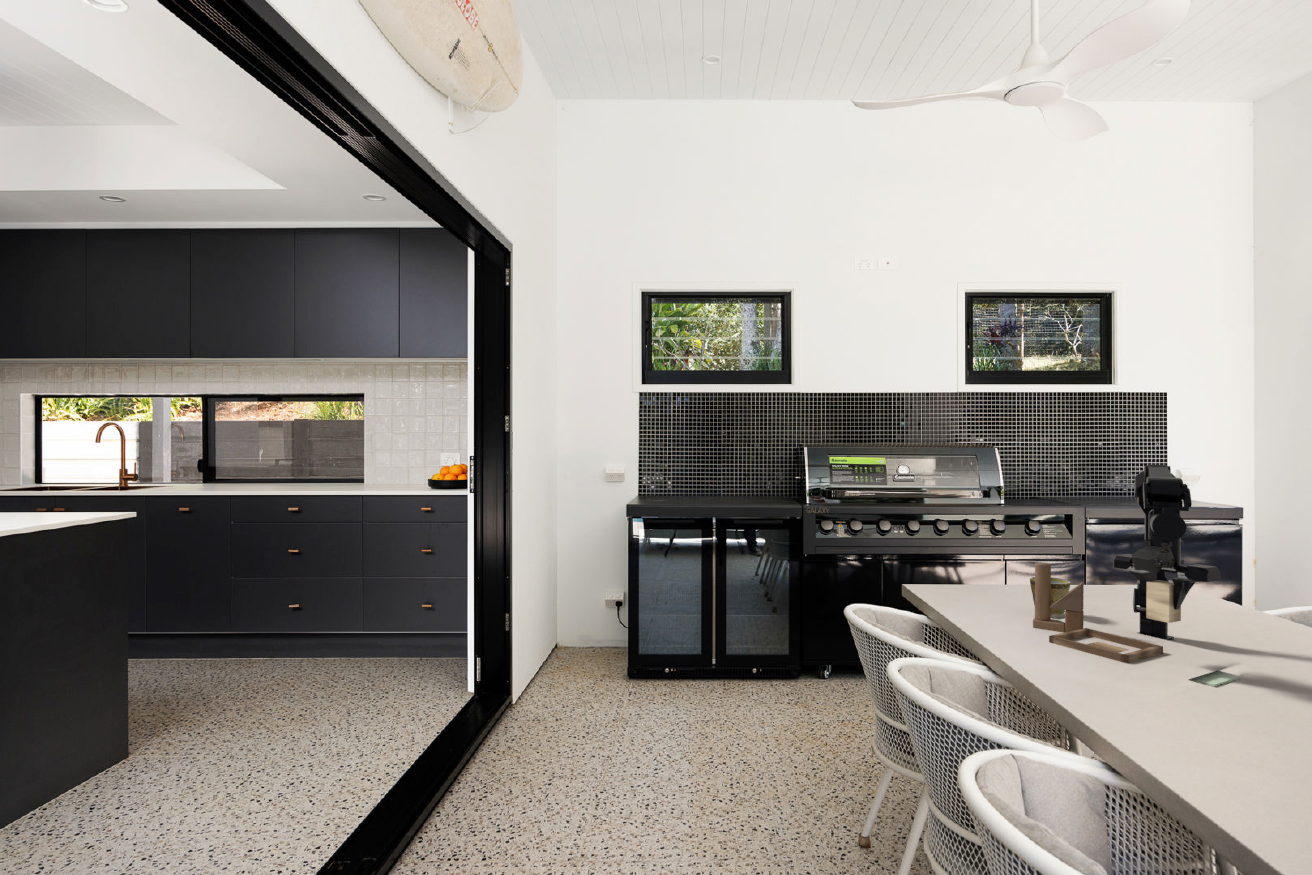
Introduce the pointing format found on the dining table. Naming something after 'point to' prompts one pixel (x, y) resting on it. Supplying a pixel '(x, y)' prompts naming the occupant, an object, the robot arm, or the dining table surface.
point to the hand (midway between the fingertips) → (1164, 606)
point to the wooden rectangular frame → (1106, 645)
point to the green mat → (1215, 678)
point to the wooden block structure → (1056, 603)
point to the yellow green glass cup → (1054, 593)
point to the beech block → (1161, 602)
